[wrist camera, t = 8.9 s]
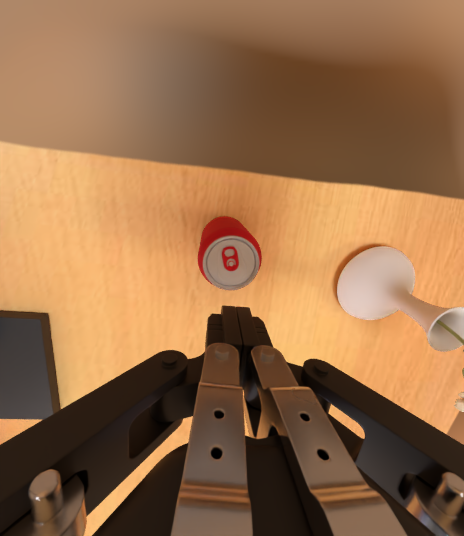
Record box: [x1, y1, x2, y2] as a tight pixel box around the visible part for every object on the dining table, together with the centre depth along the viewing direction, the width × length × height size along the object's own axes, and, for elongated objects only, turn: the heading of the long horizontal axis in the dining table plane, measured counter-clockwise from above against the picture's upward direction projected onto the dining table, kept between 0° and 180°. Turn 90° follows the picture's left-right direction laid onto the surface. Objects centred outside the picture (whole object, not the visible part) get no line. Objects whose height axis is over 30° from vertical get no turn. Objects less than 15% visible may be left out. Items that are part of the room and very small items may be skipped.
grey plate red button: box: [0, 311, 60, 419], centre depth 35 cm, size 18×12×4 cm, turn 173°
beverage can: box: [198, 216, 262, 290], centre depth 28 cm, size 6×6×12 cm
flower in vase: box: [337, 246, 464, 412], centre depth 25 cm, size 13×11×25 cm
